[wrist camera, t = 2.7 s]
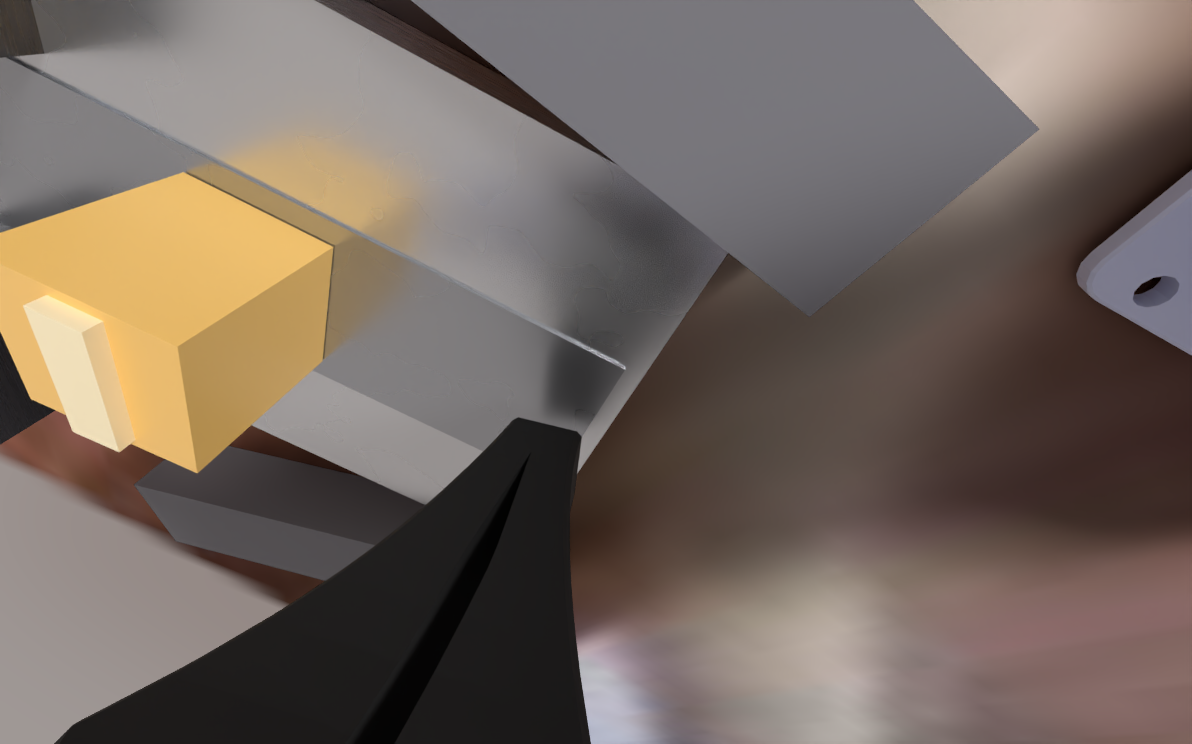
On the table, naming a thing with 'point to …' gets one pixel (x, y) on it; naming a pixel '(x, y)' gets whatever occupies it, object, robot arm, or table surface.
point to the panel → (364, 213)
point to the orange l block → (163, 316)
